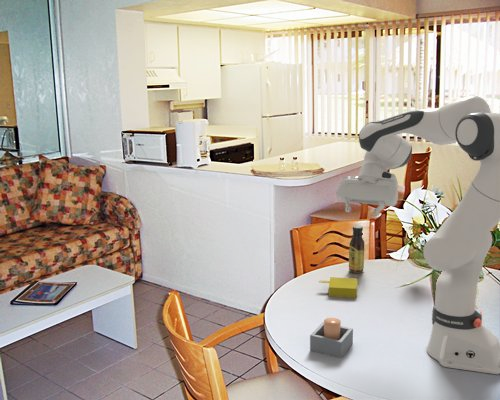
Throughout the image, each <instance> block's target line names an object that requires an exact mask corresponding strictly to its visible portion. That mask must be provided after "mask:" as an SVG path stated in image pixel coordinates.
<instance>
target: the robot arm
mask: <svg viewBox="0 0 500 400" xmlns="http://www.w3.org/2000/svg"><path fill="white" fill-rule="evenodd" d="M400 134H409V135H413V136H416V137H418V138H421V139H423V140H425V141H427V142H430V143H432V144H434V145H437V146H446V145H452V144H454V143H457V145H458V146H459V148H461V150H463V151H464V152H465V153H466V154H467V155H468V156H469V158H470V159H471V160H472V161H475V162H476V161H479V162H480V166H479V169H478V172H477V173H476V175H475V176H474V178H473V179H472V181H471V182H470V184H469V186H468V188H467V190H466V191H465V194H464V195H463V197H462V198H461V200H460V202H459V203H458V205H457V206H456V207H455V208H454V209H453V211H452V212H451V213H450V214H449V216H448V217H447V218H446V219H445V221H444V222H443V223H442V224H441V226H439V228H438V230H437V231H435V233H434V234H433V235H432V236H431V237H430V238H429V239H428V240H427V241H426V242H425V243H424V247H423V251H422V254H423V257H424V259H425V262H426V264H427V265H428V266H429V267H431V268H432V269H433V270H435V271H438V272H440V271H442V272H441V274H440V275H439V274H438V276H439V277H438V276H437V278H438V279H437V278H436V280H437V282H436V281H435V282H436V290H435V293H434V294H435V297H434V304H433V307H432V313H431V316H432V317H431V321H432V323H431V324H432V328H431V333H430V336H429V341H428V343H427V346H426V352H427V354H428V355H429V356H431V357H432V358H433V359H435V360H436V361H438V363H439V364H440V365H441V366H442V367H444V368H450V369H456V370H464V371H471V372H476V373H477V372H478V373H484V374H492V375H499V374H500V340H499V338H498V336H497V335H496V334H495V333H494V332H493V331H491V330H490V329H489V328H488V327H487V326H485V325H484V324H483V322H482V321H483V316H482V315H483V314H482V311H479V312H478V311H477V310H476V298H477V288H478V284H479V280H480V277H481V276H480V275H481V272H482V269H483V267H484V264H485V260H486V258H487V257H486V256H487V255H488V252H489V250H490V249H491V247H492V245H493V236H492V233H491V231H492V230H493V229H494V228H495V227H496V226H497V225H498V223H499V222H500V113H498V112H497V113H496V112H492V111H491V108H490V106H489V104H488V102H487V100H485V98H482V97H480V96H477V95H471V96H470V95H469V96H465V97H462V98H459V99H457V100H454V101H451V102H449V103H447V104H445V105H443V106H440V107H435V108H431V109H411V110H409V111H408V110H407V111H405V112H402V113H400V114H397V115H393V116H391V117H388V118H384V119H381V120H374V121H373V120H372V121H370V122H368V123H366V124H365V125H364V126H363V127H362V128H361V129H360V131H359V134H358V142H359V143H358V144H359V147H360V148H361V149H362V150H364V151H365V154H364V157H363V163H362V165H361V167H360V169H359V172H358V176H350V175H349V176H348V175H347V176H345V177H343V178H341V179H340V182H339V185H338V187H337V190H336V194H335V196H336V198H337V200H338V201H339V202H344V204H345V208H344V209H345V210H344V211H345V213H352V206H351V203H355V204H356V203H357V204H364V205H365V204H366V205H377V207H376V208H373V211H372V215H373V216H376V217H379V215H380V212H381V211H383V210H384V209H385V207H386V206H387V207H395V206H396V205H397V204H398V199H399V190H398V188H399V183H398V178H397V177H396V174H394V173H392V172H390V171H388V170H395V169H399V168H402V167H404V166H406V165H407V164H408V163H409V162H410V160H411V158H412V155H413V147H412V146H413V145H412V143H410V142H409V141H408V140H406V139H404V137H402V136H401V135H400Z"/></svg>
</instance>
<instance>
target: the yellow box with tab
mask: <svg viewBox="0 0 500 400" xmlns="http://www.w3.org/2000/svg"><path fill="white" fill-rule="evenodd" d="M357 274H358V278H359V274H360V273H357ZM358 278H356V277H355V278H353V277H351V278H350V277H335V276H334V277H330V278H329V280H319V281H318V282H319V283H320V284H328V297H337V298H352V299H355V298H356V299H357V297H358V294H357V293H358V285H359V281H358Z"/></svg>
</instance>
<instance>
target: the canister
mask: <svg viewBox="0 0 500 400" xmlns="http://www.w3.org/2000/svg"><path fill="white" fill-rule="evenodd" d="M341 321H342V320H340V319H338V318H336V317H327V318H325V319H324V320H323V322H324V337H327V338H332V339H336V340H340V327H341V326H342V325H341V324H342V322H341Z"/></svg>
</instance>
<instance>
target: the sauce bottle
mask: <svg viewBox="0 0 500 400" xmlns="http://www.w3.org/2000/svg"><path fill="white" fill-rule="evenodd" d="M363 229H364V228H363V225H359V224H356V225H353V226H352V236H351V240H350V242H349V244H348V245H349V249H348V250H349V251H348V270H349V272H350V273H352V274H361V273H363V272H364V268H365V241H364V238H363Z"/></svg>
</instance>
